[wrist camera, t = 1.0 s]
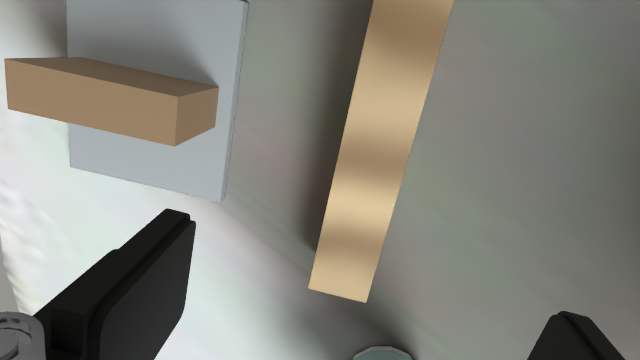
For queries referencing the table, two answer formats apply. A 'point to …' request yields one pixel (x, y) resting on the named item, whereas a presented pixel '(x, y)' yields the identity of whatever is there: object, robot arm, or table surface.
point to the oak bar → (377, 141)
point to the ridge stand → (143, 90)
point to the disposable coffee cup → (382, 354)
